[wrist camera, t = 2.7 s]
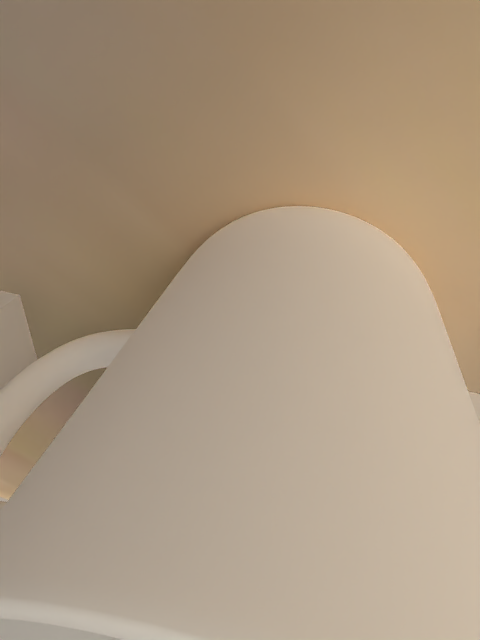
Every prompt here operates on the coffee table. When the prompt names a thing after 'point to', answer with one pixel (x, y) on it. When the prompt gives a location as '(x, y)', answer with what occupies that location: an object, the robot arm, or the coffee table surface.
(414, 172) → the coffee table surface
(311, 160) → the coffee table surface
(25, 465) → the coffee table surface
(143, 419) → the cup
